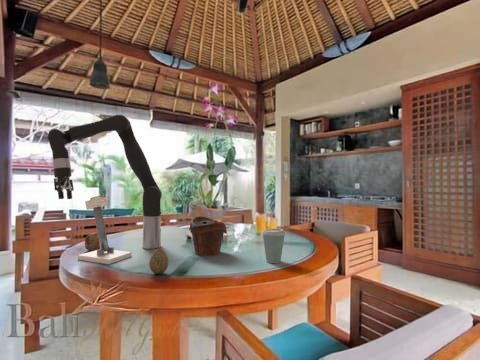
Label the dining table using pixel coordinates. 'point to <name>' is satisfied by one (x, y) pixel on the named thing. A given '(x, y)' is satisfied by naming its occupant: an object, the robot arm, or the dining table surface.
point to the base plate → (105, 256)
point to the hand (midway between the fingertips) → (65, 198)
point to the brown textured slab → (92, 241)
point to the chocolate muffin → (207, 235)
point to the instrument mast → (99, 219)
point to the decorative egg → (158, 262)
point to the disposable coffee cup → (273, 244)
